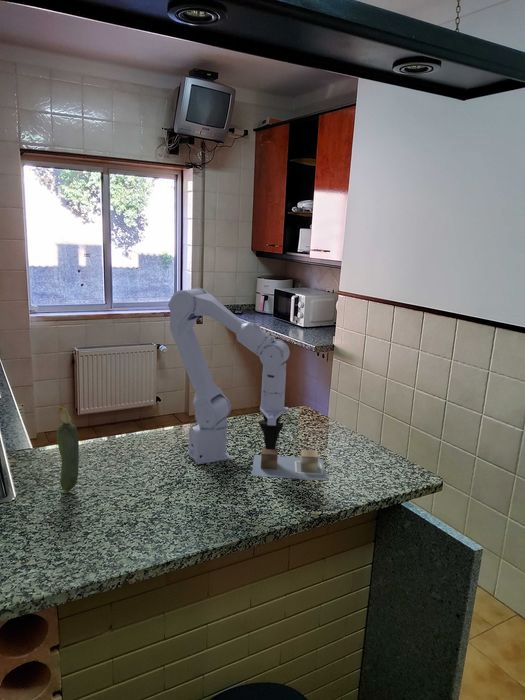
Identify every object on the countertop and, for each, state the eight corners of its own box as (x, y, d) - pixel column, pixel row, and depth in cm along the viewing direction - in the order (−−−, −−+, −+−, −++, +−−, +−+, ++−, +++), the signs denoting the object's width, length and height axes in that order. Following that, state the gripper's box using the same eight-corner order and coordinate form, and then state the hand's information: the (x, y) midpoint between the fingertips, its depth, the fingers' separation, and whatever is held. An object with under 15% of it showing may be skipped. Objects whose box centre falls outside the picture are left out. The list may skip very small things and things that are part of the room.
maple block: (300, 471, 125) (302, 456, 124) (300, 464, 129) (301, 449, 128) (317, 472, 125) (318, 457, 124) (315, 465, 129) (317, 450, 128)
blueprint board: (251, 477, 121) (251, 475, 121) (254, 456, 133) (254, 454, 133) (326, 482, 121) (326, 479, 121) (322, 461, 133) (322, 458, 133)
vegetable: (81, 488, 112) (79, 402, 108) (78, 497, 108) (75, 409, 104) (60, 488, 112) (57, 402, 107) (56, 498, 107) (53, 409, 103)
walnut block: (260, 468, 125) (261, 453, 124) (261, 461, 129) (262, 447, 128) (276, 469, 125) (277, 454, 124) (276, 462, 129) (277, 448, 128)
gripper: (290, 400, 116) (287, 455, 119) (289, 383, 130) (286, 432, 133) (259, 398, 116) (257, 453, 119) (261, 381, 130) (259, 431, 133)
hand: (270, 442), depth 126 cm, fingers open, 7 cm apart
